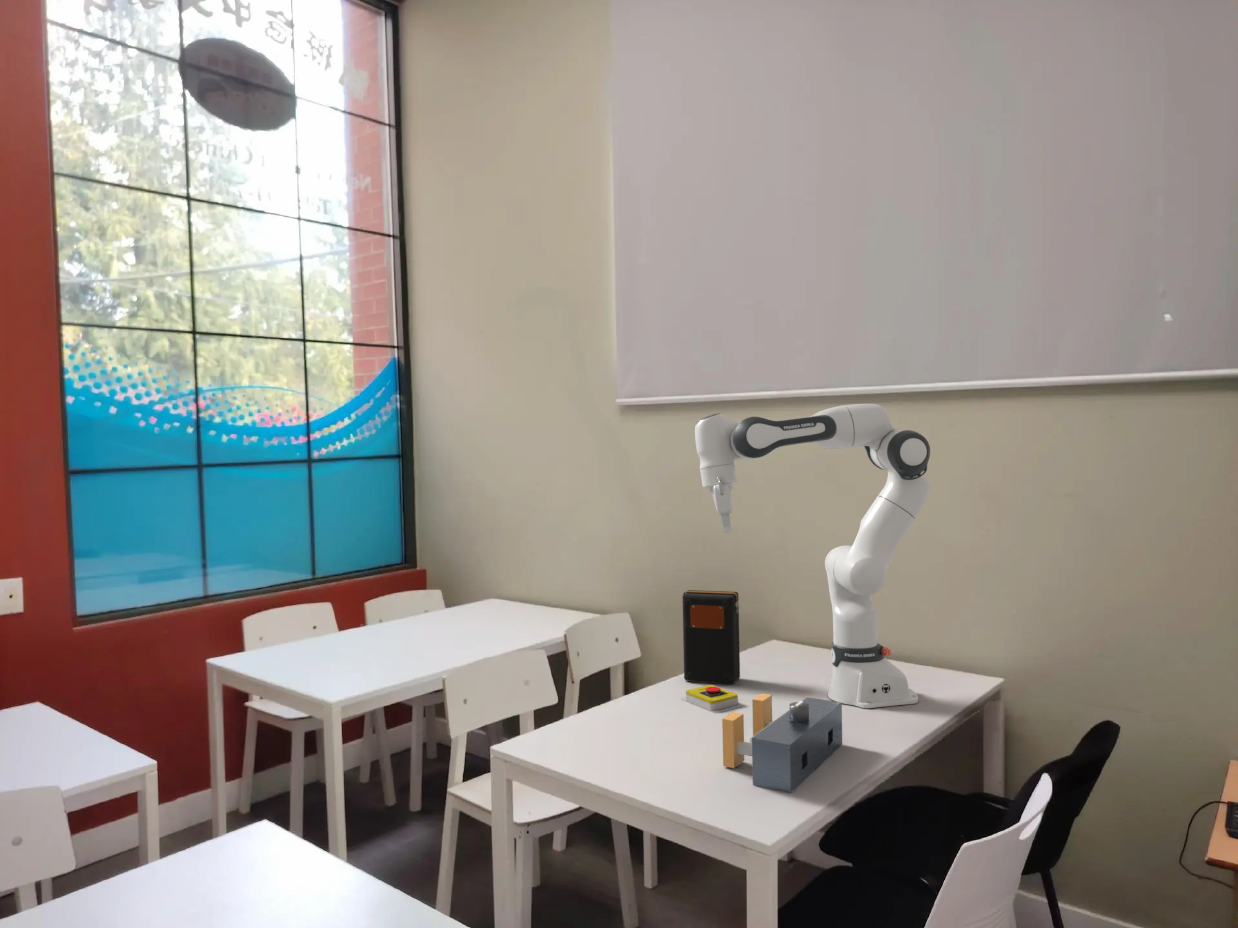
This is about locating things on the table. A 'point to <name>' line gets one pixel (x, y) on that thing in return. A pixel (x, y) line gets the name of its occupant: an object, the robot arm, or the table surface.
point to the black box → (711, 636)
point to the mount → (796, 746)
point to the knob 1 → (734, 740)
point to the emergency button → (712, 698)
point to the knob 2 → (761, 712)
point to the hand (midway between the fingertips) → (727, 532)
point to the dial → (799, 712)
